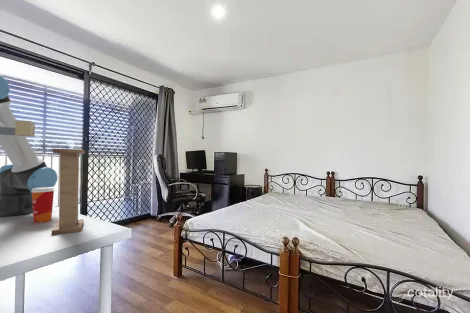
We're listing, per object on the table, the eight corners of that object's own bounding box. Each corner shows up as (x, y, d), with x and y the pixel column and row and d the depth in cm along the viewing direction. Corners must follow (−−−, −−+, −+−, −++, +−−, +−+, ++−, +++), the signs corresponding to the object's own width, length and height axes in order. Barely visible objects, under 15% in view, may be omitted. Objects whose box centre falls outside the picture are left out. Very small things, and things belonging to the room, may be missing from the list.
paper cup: (35, 219, 96) (35, 187, 96) (56, 217, 99) (57, 186, 99) (26, 224, 89) (27, 189, 89) (50, 222, 92) (51, 188, 92)
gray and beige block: (-30, 133, 75) (-30, 118, 75) (34, 136, 84) (34, 123, 84) (-39, 132, 70) (-39, 116, 70) (30, 135, 79) (30, 121, 79)
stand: (57, 225, 88) (58, 149, 88) (83, 222, 92) (84, 150, 93) (51, 235, 78) (52, 148, 78) (81, 231, 82) (82, 149, 82)
